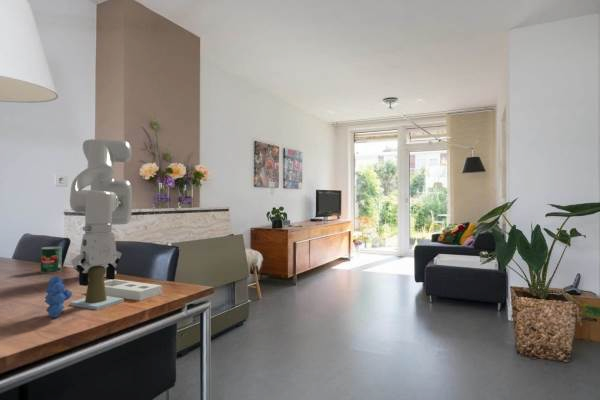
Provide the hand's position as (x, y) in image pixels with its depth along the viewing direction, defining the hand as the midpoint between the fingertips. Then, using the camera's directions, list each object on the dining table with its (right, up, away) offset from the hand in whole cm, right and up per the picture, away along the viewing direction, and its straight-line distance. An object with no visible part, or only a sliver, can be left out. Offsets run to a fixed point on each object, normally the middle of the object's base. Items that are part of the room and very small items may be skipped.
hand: (97, 282), depth 118 cm
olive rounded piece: (0, -6, 0) cm, 6 cm away
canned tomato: (-48, -6, +48) cm, 68 cm away
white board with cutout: (+3, -7, +13) cm, 15 cm away
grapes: (-3, -7, -14) cm, 16 cm away
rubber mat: (0, -7, 0) cm, 7 cm away
